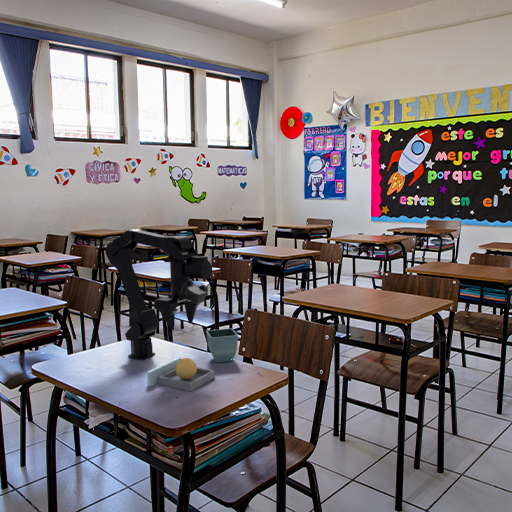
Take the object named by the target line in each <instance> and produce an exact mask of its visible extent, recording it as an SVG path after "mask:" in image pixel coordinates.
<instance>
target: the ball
mask: <svg viewBox="0 0 512 512" xmlns="http://www.w3.org/2000/svg"><path fill="white" fill-rule="evenodd" d="M197 367H198V366H197V363H196V362H195V360H193V359H192V358H191V357H183V358H181V360H180V361H179V362H178V363H177V365H176V373H177V375H178V376H179V377H180V378H181V379H185V380H187V379H191V378H192V377H194V375H195V374H196V372H197Z"/></svg>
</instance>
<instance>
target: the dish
mask: <svg viewBox="0 0 512 512" xmlns="http://www.w3.org/2000/svg"><path fill="white" fill-rule="evenodd" d="M215 373H216V371H215V370H214V369H213V370H212V369H210V368H209V369H208V368H203V367H198V366H197V372H196V374H195V375H194V377H192V378H191V379H187V380H185V379H181V378H180V377H179V376H178V375H177V373H176V368H175V369H173V370H171V371H169V372H167V373H165V374H163V375H161V376H159V377H158V383H157V384H158V385H161V386H166V387H169V388H175V389H177V390H178V389H179V390H184V391H188V392H192V391H195V390H196V389H197V388H199V387H202V386H203V385H204V384H207V383H208V382H210V381H212V380H213V379H215V378H216V377H215V375H216V374H215Z"/></svg>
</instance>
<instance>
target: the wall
mask: <svg viewBox="0 0 512 512" xmlns="http://www.w3.org/2000/svg"><path fill="white" fill-rule="evenodd" d="M181 359H182V357H176V358H175V359H172V360H169V361H168V362H165V363H164V364H161V365H159V366H157V367H154V368H152V369H150V370H148V371H146V372H147V379H146V380H147V387H152V386H154V385H156V384H158V377H159V376H161V375H163V374H165V373H167V372H169V371H171V370H173V369H175V368H176V365H177V363H178V362H179V361H180V360H181Z"/></svg>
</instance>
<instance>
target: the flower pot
mask: <svg viewBox="0 0 512 512" xmlns="http://www.w3.org/2000/svg"><path fill="white" fill-rule="evenodd" d="M205 333H206V340H207V345H208V349H209V352H210V354H211V356H212V358H213V359H214V361H215V363H216V364H217V363H224V362H232V361H233V360H234V359H235V357H236V353H237V349H238V342H239V335H238V333H237V332H236V331H235V330H234V328H221V329H213V330H212V329H211V330H210V329H209V330H206V331H205ZM231 359H232V360H231Z"/></svg>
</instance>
